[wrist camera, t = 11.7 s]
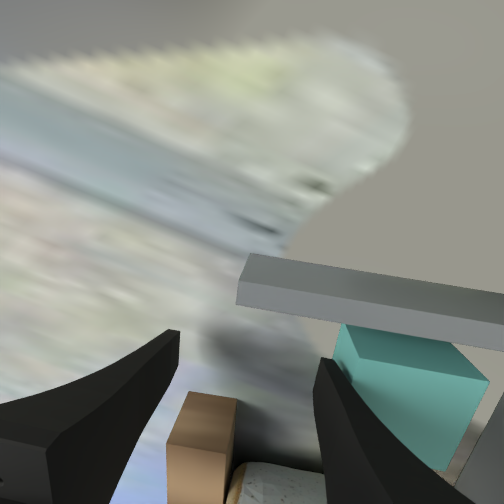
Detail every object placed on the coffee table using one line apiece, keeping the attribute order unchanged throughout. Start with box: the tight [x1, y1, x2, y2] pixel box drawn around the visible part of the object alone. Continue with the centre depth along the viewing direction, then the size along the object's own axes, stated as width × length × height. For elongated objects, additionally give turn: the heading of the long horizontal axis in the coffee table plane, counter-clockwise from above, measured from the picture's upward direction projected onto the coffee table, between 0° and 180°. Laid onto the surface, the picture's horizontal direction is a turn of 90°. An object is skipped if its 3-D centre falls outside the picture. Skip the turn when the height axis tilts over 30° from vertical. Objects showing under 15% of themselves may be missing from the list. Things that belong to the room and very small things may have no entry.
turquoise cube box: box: [332, 323, 490, 471], centre depth 12 cm, size 5×5×3 cm
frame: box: [236, 253, 504, 504], centre depth 14 cm, size 24×15×4 cm, turn 172°
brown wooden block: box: [166, 391, 237, 504], centre depth 16 cm, size 12×3×4 cm, turn 175°
